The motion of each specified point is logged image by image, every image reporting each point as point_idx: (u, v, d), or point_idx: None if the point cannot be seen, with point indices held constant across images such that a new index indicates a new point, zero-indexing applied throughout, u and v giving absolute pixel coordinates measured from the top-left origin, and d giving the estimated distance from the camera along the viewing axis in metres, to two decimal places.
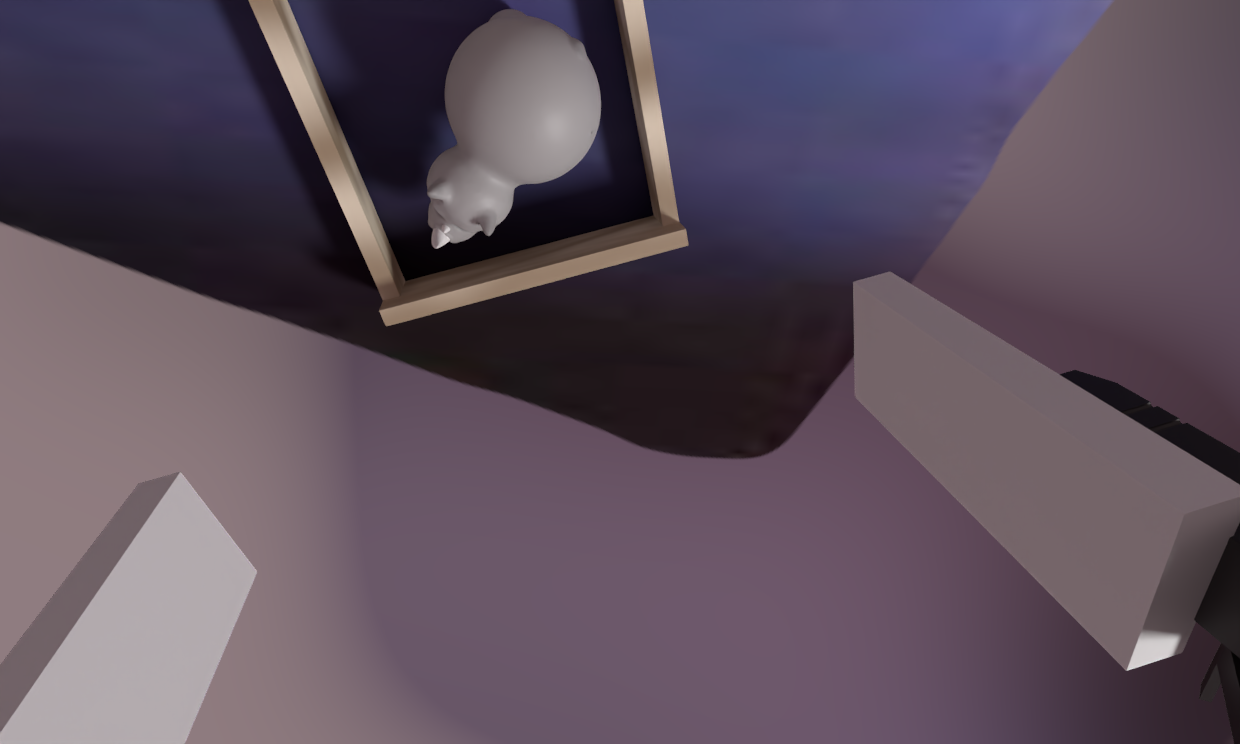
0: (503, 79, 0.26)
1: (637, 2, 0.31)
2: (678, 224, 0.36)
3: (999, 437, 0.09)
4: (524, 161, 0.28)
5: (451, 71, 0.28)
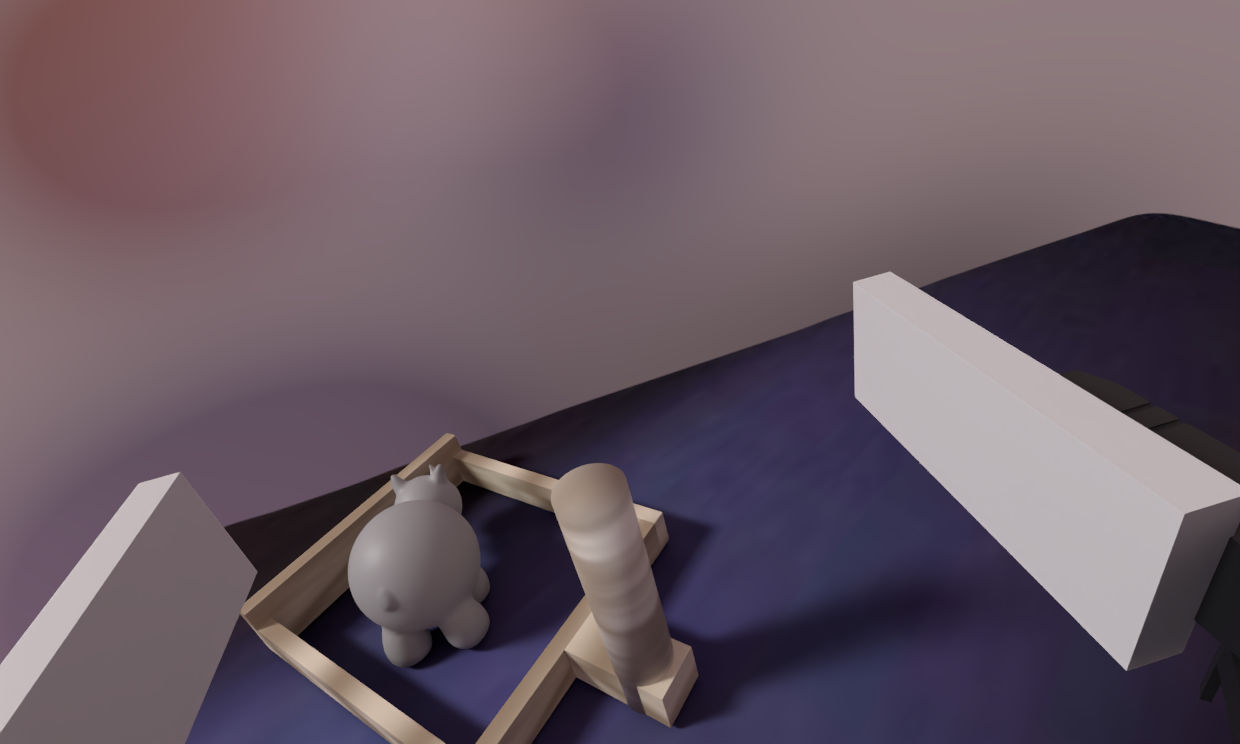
0: (418, 523, 0.35)
1: (370, 709, 0.32)
2: (256, 624, 0.38)
3: (999, 437, 0.09)
4: (384, 510, 0.37)
5: (466, 526, 0.37)
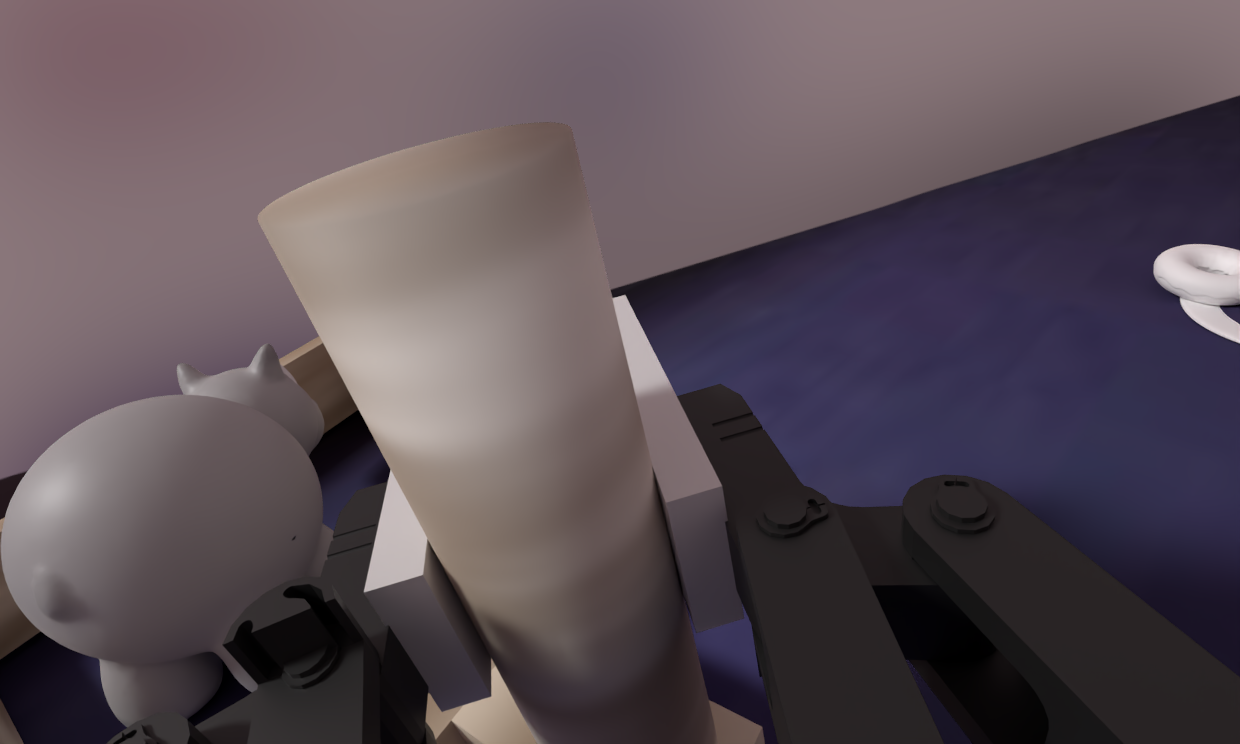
0: (154, 429, 0.16)
1: None
2: None
3: None
4: None
5: (284, 447, 0.18)
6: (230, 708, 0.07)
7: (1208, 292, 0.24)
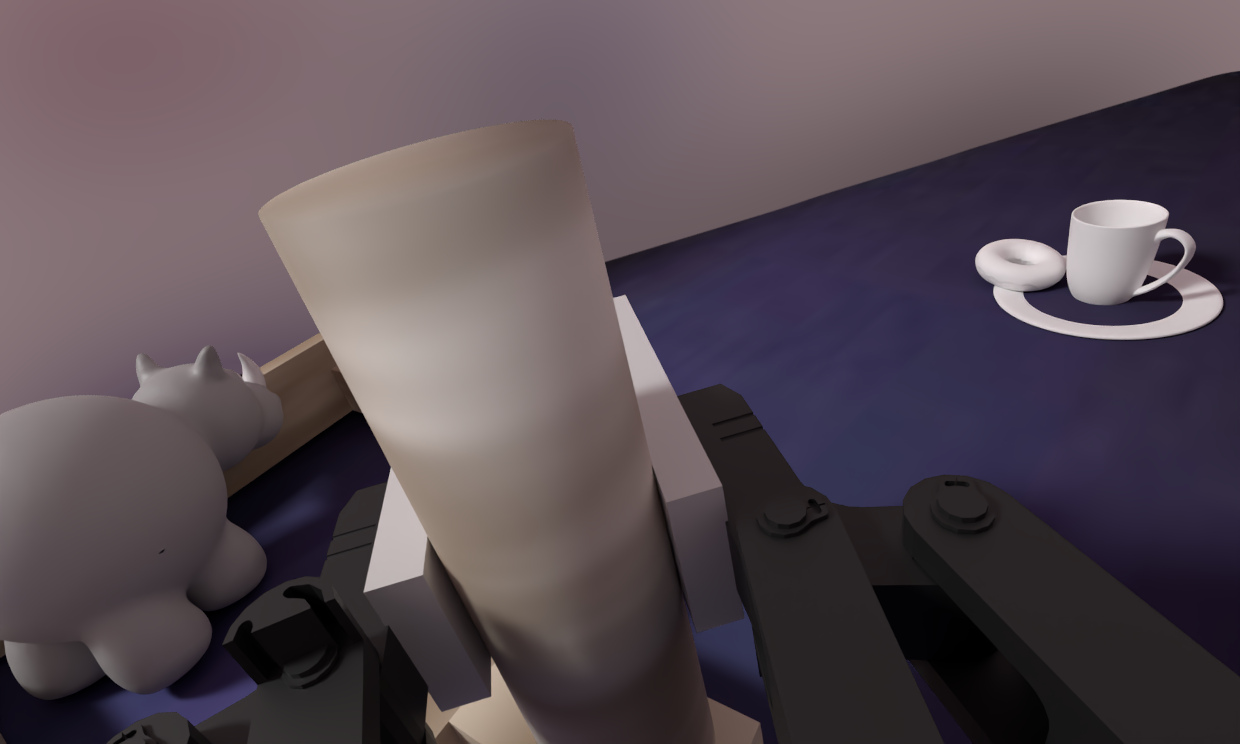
0: (35, 436, 0.17)
1: None
2: None
3: None
4: None
5: (170, 461, 0.19)
6: (229, 707, 0.07)
7: (1011, 280, 0.28)
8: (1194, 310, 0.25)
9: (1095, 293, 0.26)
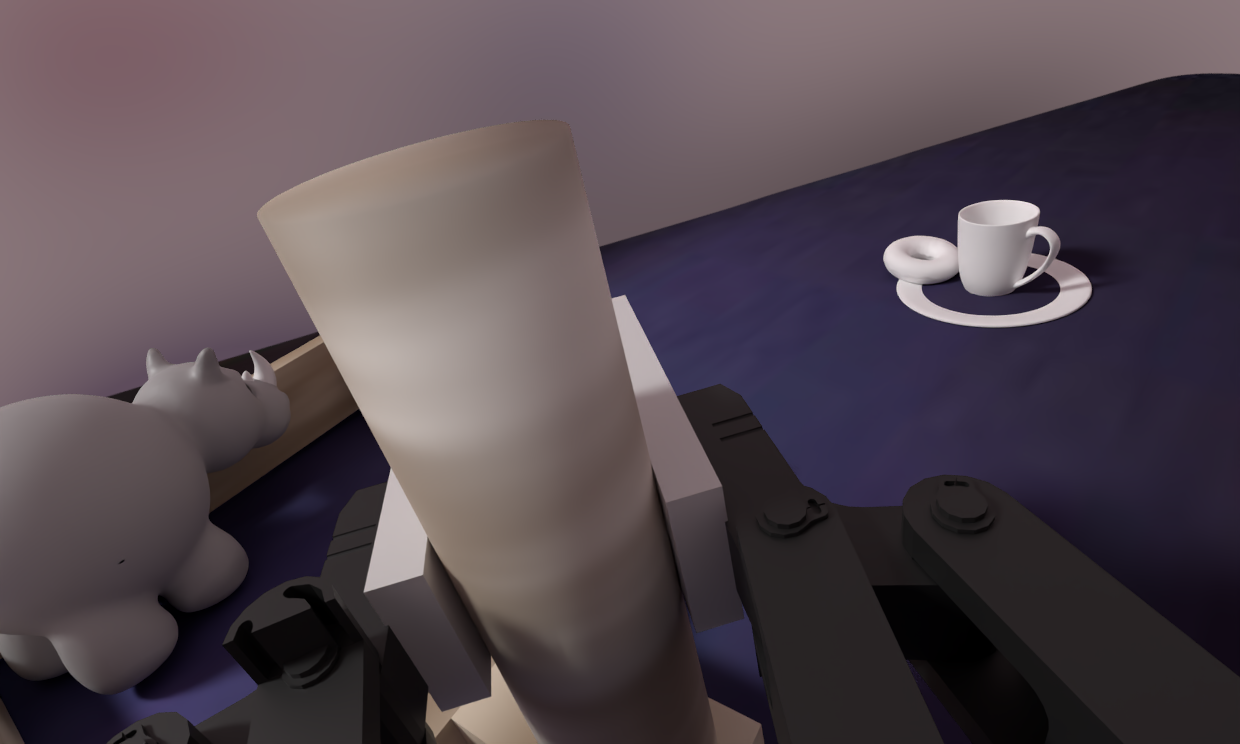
0: (7, 439, 0.17)
1: None
2: None
3: None
4: None
5: (139, 471, 0.19)
6: (230, 707, 0.07)
7: (910, 273, 0.30)
8: (1064, 301, 0.27)
9: (980, 285, 0.28)
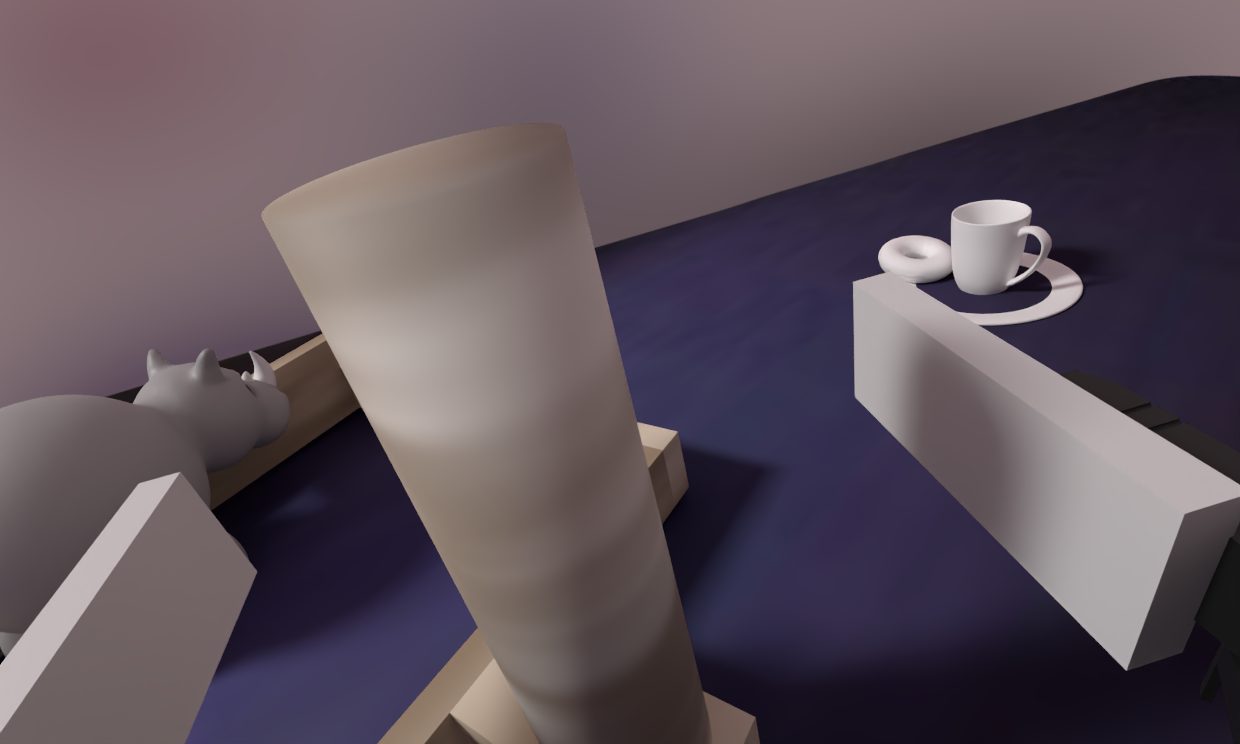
0: (10, 439, 0.17)
1: None
2: None
3: (999, 437, 0.09)
4: None
5: (140, 470, 0.19)
6: None
7: (904, 273, 0.31)
8: (1056, 299, 0.27)
9: (973, 284, 0.29)
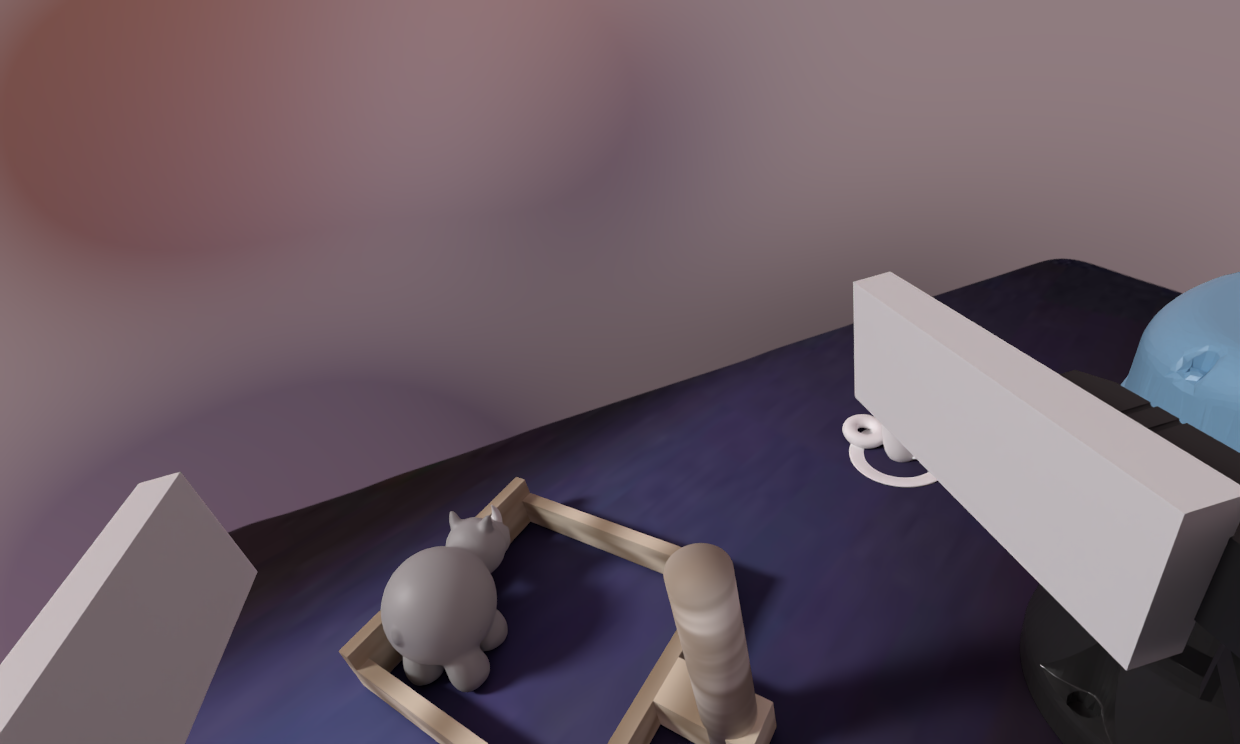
0: (437, 579, 0.39)
1: None
2: (356, 665, 0.41)
3: (999, 437, 0.09)
4: (425, 549, 0.42)
5: (483, 588, 0.40)
6: None
7: (856, 443, 0.52)
8: None
9: (894, 456, 0.50)
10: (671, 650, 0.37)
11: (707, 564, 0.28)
